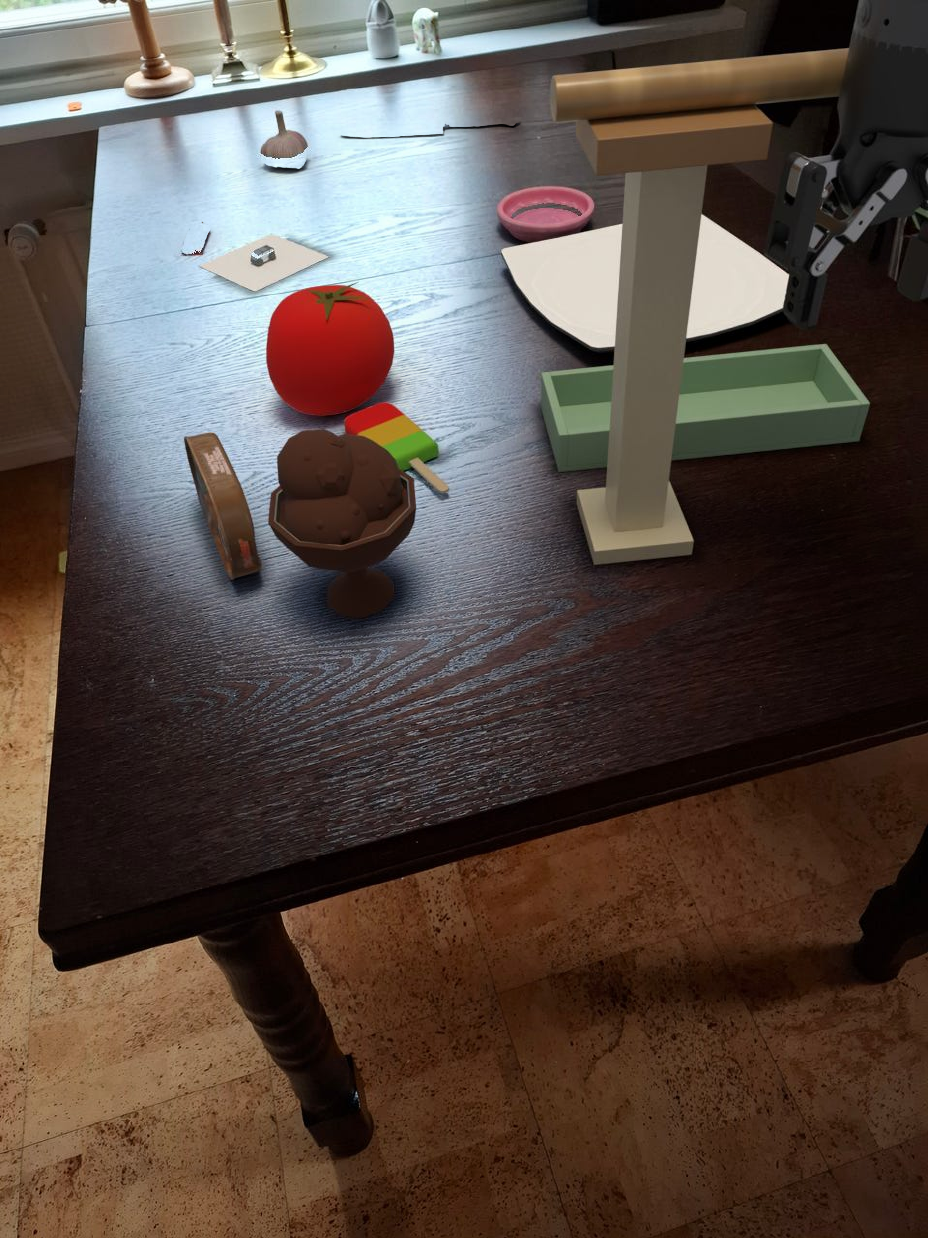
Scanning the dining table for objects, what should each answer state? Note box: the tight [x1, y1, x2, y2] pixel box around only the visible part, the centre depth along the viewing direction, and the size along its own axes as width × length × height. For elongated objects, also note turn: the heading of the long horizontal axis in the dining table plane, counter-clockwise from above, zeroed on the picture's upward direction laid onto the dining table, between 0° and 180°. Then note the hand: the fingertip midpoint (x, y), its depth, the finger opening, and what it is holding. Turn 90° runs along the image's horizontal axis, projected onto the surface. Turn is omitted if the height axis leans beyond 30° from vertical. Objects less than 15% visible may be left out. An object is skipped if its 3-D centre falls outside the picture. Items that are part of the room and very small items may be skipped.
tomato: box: [265, 281, 395, 417], centre depth 90 cm, size 12×14×11 cm
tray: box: [540, 343, 871, 473], centre depth 85 cm, size 28×11×4 cm, turn 95°
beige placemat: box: [198, 233, 330, 292], centre depth 117 cm, size 12×12×2 cm
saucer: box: [496, 185, 595, 243], centre depth 119 cm, size 12×12×3 cm
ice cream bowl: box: [267, 428, 417, 619], centre depth 68 cm, size 11×11×15 cm
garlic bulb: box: [260, 109, 309, 159], centre depth 138 cm, size 8×7×8 cm
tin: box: [183, 432, 262, 581], centre depth 76 cm, size 15×3×8 cm, turn 24°
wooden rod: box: [549, 47, 849, 124], centre depth 53 cm, size 20×2×2 cm, turn 95°
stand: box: [575, 104, 774, 566], centre depth 65 cm, size 10×8×32 cm
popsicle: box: [343, 401, 450, 494], centre depth 85 cm, size 6×15×2 cm, turn 33°
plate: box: [500, 213, 789, 354], centre depth 105 cm, size 29×29×3 cm
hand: (856, 309), depth 60 cm, fingers open, 8 cm apart
